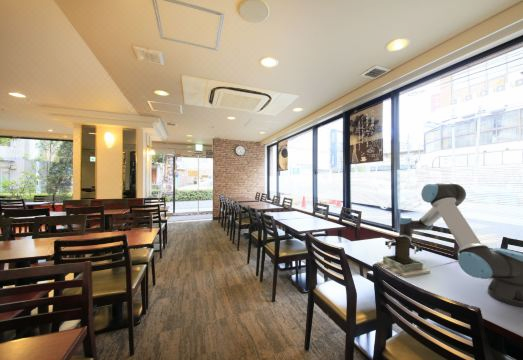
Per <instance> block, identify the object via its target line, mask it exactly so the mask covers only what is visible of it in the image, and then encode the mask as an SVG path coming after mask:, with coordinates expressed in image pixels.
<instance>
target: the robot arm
mask: <svg viewBox="0 0 523 360" xmlns="http://www.w3.org/2000/svg"><path fill="white" fill-rule="evenodd" d="M466 196H467V193H466V190H465V188H464V187H463V186H462V185H460V184H458V183H455V182H444V183H443V182H431V183H429V182H428V183H426V184H425V185H424V186H423V187H422V189H421V199H422V201H423V202H426V203H427V204H428V203H429V204H430V205H431V208H430V209H428V211H427V212H425V214H423V216H422V217H421V218H419V219H412V217H411V216H400V217H399V223H398V224H399V231H398V232H399V234H398V236H399V237H406V238H409V239H410V241H409V242H410V243H409V245H410V250H411V249H412V250H413V251H414V255H417V253H419V252H423V247H422V246H421V245H419V244H417V243H416V242H413V243H412V240H413V238H412V237H413V236H412V231H431V230H432V229H433V228H434V224H435V223H436V222H437V221H438V220H439V219H441V218H442V219H443V221H444V223H445V224H446V227H447V228H448V229H449V232H450V233H451V234H452V237H453V239H454V240H455V242H456V243H457V245H458V247H459V250H458V253H459V254H458V257H457V259H458V260H457V262H458V266H459V267H460V268H461V270H462V271H463V272H464V273H465V274H466V275H469V276H471V277H472V278H477V279H483V280H486V279H491V281H490V283H489V285H488V286H487V294H488V295H489V296H490V297H492V298H494V299H495V300H498V301H499V302H502V303H505V304H507V305H511V306H515V307H520V308H523V252H519V251H515V250H511V249H506V248H500V247H499V248H498V247H493V252H491V251H490V249H489V248H488V247H489V246H487V245H486V244H483V243H481V241H480V240H479V238H478V237H477V235H476V233H475V232H474V230H473V229H472V228H471V226H470V224H469V222H468V221H467V220H466V218H465V216H464V215H463V214H462V212H461V211H460V208H458V206H459V205H461V204H462V203H463V202H464V201H465V199H466ZM384 242H385V243H384V245H385V246H387V247H388V250H391V249H392V247H395V238H394V239H391V240H385V241H384Z"/></svg>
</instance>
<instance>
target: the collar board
mask: <svg viewBox="0 0 523 360" xmlns="http://www.w3.org/2000/svg"><path fill="white" fill-rule="evenodd" d="M394 260H395V254H394V255H387V256H386V255H385V256H383V258H382V260H379V261H377V262H376V264H377V263H378V264H377V265H379V264H380V265H379V266H380V267H383V268H385V269H387V270H389V271H391V272H393V273H394V274H397V275H399V276H401V277H403V278H410V277H415V276H420V275H426V274H430V272H431V271H430V269H427V268H426V267H425V268H424V267H423V265H424V264H423V262H421V261H419V260H416V259H414V258H412V257H410V263H411V264H407V265H403V264H400V263H398V262H396V261H394Z"/></svg>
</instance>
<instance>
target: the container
mask: <svg viewBox="0 0 523 360" xmlns="http://www.w3.org/2000/svg"><path fill="white" fill-rule="evenodd" d="M394 240H395V246H394V255H395V260H394V261H396V262H398V263H400V264H403V265H407V264H411V263H410V258H411V257H410V256H411V253H410V251H411V248H410V245H409V243H410V242H409V241H410V239H409V238H406V237H399V235H398V236H395V237H394Z"/></svg>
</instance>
